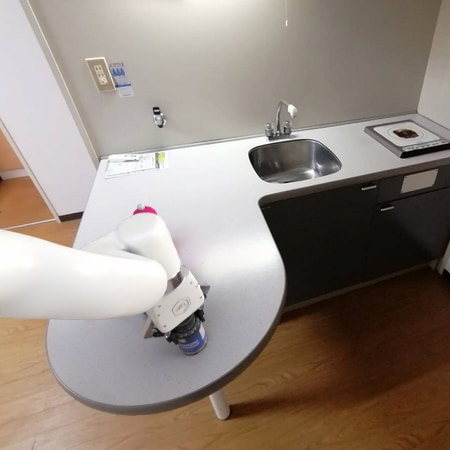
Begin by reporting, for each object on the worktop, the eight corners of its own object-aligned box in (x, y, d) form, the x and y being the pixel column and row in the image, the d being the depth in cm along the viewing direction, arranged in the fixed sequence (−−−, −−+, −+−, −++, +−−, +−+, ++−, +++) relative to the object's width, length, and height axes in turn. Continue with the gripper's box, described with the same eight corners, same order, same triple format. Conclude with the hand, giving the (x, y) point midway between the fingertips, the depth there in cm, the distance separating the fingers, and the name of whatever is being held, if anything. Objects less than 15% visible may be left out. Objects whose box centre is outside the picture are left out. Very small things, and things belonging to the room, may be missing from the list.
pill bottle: (179, 359, 68) (164, 332, 61) (181, 334, 72) (166, 307, 65) (208, 352, 69) (196, 325, 62) (207, 328, 73) (196, 301, 66)
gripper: (126, 320, 48) (161, 371, 60) (213, 257, 58) (228, 311, 70) (103, 295, 52) (141, 348, 63) (189, 240, 62) (208, 294, 73)
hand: (187, 328), depth 67 cm, fingers closed on pill bottle, 6 cm apart
